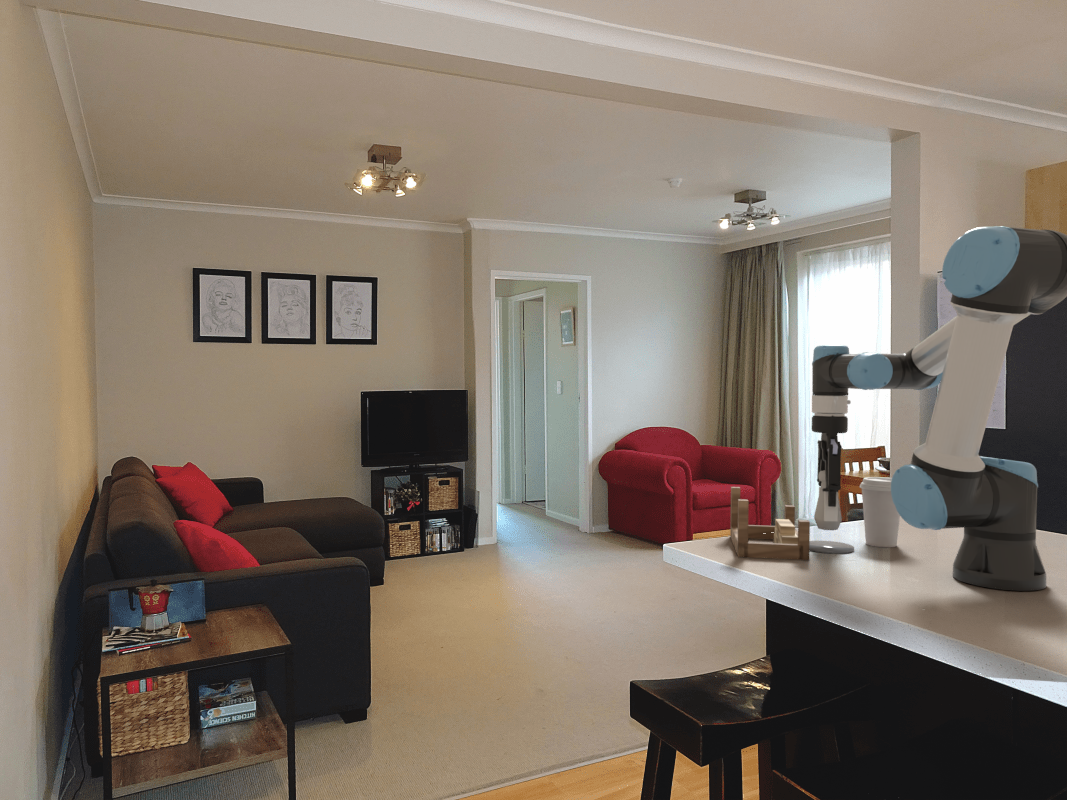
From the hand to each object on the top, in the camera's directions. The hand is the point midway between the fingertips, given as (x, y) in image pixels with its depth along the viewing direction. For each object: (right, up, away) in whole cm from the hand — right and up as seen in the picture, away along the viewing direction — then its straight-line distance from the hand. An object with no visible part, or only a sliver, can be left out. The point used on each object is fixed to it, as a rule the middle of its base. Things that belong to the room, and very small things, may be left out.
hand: (827, 518), depth 175 cm
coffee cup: (+14, -7, +5) cm, 16 cm away
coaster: (0, -7, 0) cm, 7 cm away
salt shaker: (0, -3, 0) cm, 3 cm away
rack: (-13, -7, 0) cm, 15 cm away
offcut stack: (-10, -7, 0) cm, 12 cm away
